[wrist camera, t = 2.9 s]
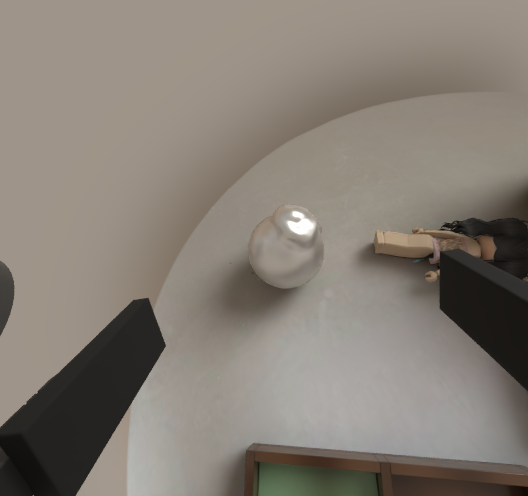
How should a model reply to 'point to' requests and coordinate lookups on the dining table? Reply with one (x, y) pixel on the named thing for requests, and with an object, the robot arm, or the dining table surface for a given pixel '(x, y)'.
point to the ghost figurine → (287, 247)
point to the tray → (373, 474)
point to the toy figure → (464, 244)
